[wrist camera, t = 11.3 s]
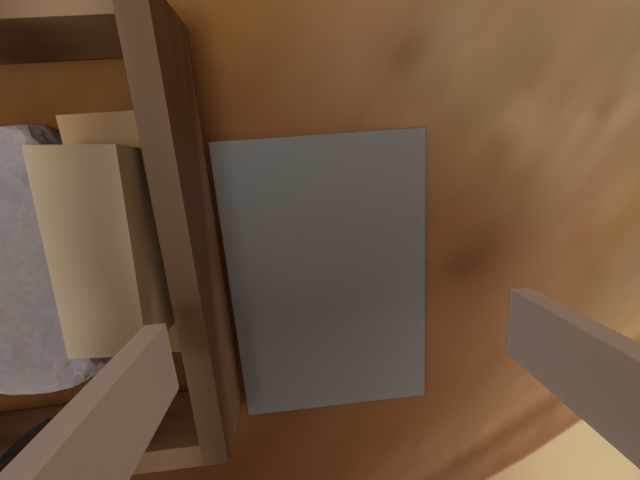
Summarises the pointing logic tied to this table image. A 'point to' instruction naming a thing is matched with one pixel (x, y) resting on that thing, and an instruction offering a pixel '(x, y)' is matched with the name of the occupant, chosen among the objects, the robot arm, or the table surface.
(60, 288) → the offcut short
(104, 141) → the block
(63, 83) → the table surface
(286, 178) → the mat
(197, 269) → the wooden tray
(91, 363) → the stone block
